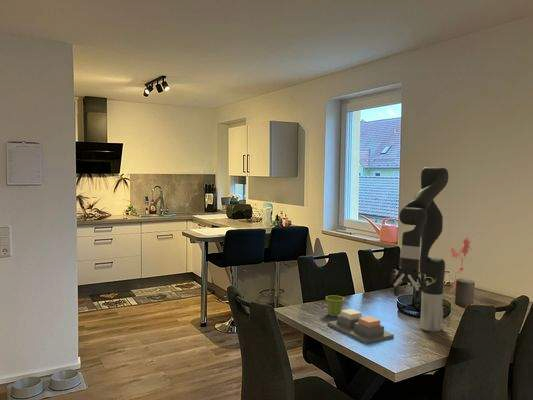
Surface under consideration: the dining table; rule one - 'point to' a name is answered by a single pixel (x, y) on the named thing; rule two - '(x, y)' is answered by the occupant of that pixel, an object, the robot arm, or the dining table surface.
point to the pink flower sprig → (455, 254)
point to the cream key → (351, 314)
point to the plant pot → (334, 305)
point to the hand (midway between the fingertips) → (406, 297)
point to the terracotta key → (369, 322)
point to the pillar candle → (464, 292)
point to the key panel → (360, 330)
